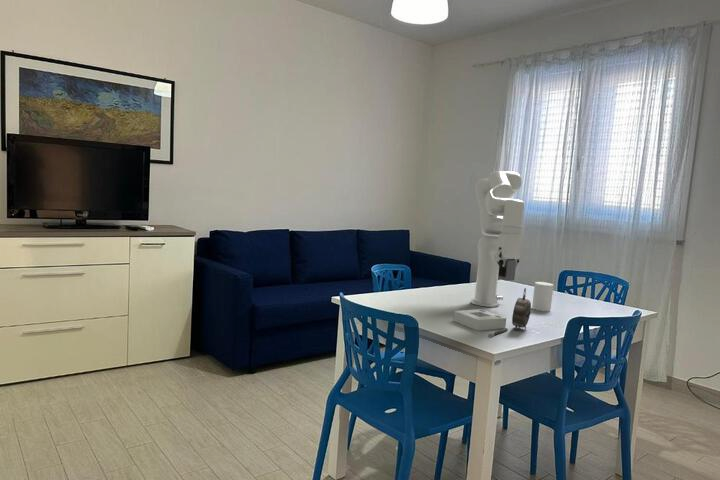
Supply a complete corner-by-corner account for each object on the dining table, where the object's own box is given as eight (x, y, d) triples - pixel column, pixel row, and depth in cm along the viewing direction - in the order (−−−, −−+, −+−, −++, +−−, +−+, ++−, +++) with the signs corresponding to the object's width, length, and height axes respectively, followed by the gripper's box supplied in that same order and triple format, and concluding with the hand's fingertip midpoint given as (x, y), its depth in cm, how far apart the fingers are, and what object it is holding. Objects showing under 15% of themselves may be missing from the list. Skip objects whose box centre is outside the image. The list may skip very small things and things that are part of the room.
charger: (506, 277, 213) (508, 258, 212) (514, 280, 209) (516, 260, 208) (497, 278, 210) (500, 258, 209) (506, 280, 207) (508, 260, 206)
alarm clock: (516, 325, 207) (521, 285, 206) (530, 327, 205) (535, 287, 203) (509, 330, 198) (514, 288, 196) (524, 333, 195) (529, 291, 194)
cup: (551, 309, 243) (554, 283, 242) (549, 312, 236) (552, 286, 235) (533, 306, 247) (536, 281, 245) (531, 309, 239) (533, 283, 238)
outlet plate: (480, 318, 213) (481, 308, 213) (505, 328, 201) (506, 317, 201) (453, 320, 206) (454, 310, 206) (477, 330, 194) (479, 319, 194)
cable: (504, 330, 198) (505, 327, 198) (508, 331, 197) (508, 328, 197) (488, 336, 188) (488, 333, 187) (491, 337, 187) (491, 334, 186)
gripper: (519, 230, 215) (514, 273, 217) (488, 229, 206) (484, 274, 208) (533, 232, 208) (528, 277, 210) (502, 231, 200) (497, 278, 202)
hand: (506, 275), depth 209 cm, fingers closed on charger, 4 cm apart
